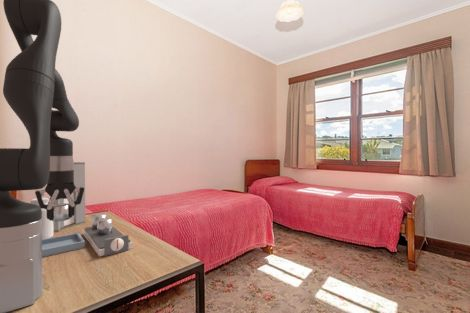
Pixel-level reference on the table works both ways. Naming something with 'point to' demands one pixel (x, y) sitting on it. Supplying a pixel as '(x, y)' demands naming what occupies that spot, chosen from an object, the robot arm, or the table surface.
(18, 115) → the robot arm
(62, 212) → the cylinder
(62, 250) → the tray
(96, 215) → the cylinder
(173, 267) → the table surface
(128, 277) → the table surface
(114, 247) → the scale
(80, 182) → the cabinet
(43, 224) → the pill bottle
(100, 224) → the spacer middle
